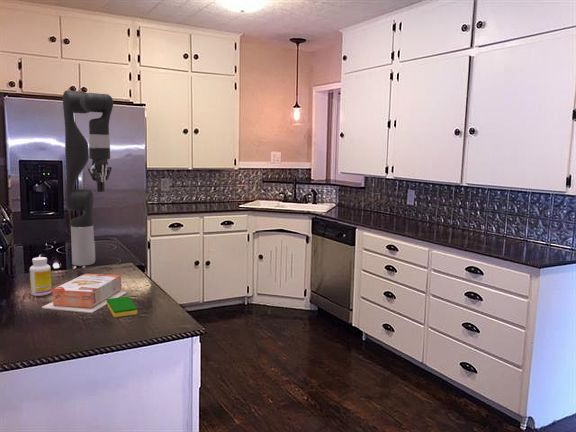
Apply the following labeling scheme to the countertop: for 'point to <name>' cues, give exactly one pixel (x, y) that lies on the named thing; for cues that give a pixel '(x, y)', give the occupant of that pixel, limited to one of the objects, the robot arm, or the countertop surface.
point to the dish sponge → (121, 306)
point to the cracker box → (86, 290)
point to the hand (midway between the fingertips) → (100, 191)
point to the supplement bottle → (40, 277)
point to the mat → (84, 309)
